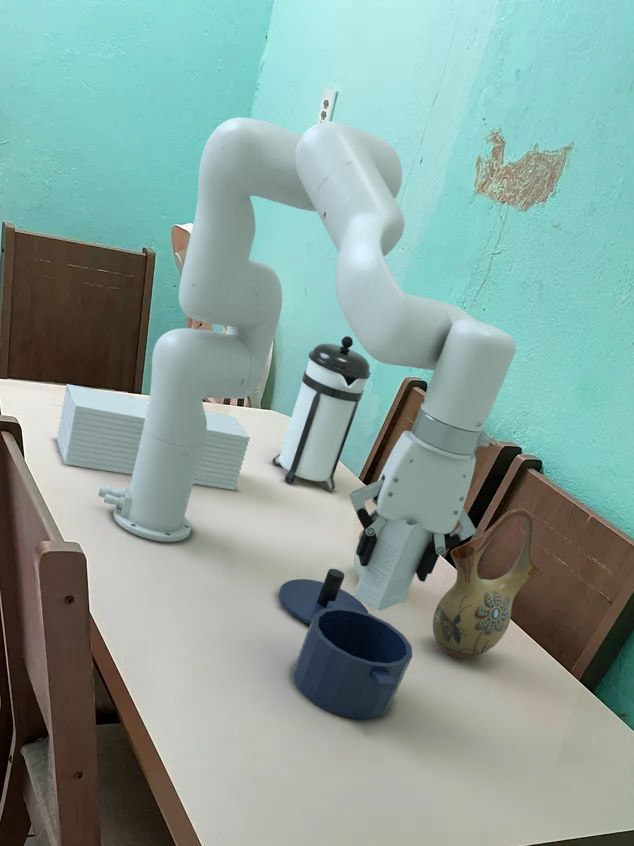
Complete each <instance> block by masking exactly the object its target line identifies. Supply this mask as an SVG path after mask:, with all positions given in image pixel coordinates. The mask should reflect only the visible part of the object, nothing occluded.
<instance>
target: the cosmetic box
mask: <svg viewBox="0 0 634 846" xmlns="http://www.w3.org/2000/svg"><path fill="white" fill-rule="evenodd" d="M432 534H433V532H429V531H426V530H424V529H423V525H422V524H419V523H416V522H412V521H408V520H405V519H401V518H398V519H397V520H396V521H389V520H388V522H387V523H386V524H385V525H384V526H383V527H382V528H381V529H380V531H379V533H378V536H377V542H376V545H375V547H374V550H373V553H372V555H371V558H370V560H369V563H368V565H367V566H365V568H364V570H363V573H362V575H361V578H360V580H359V579H358V583H357V585H356V588H355V590H354V593H353V596H354V597H355V598H356V599H358V600H359V601H360V602H361V603H363V604H365V605H367V606H368V607H370V608H372V609H373V610H375V611H377V612H380V611H382V610H386V609H387V608H390V607H393V606H396V605H399V604H401V603H403V602H404V601H405V598H406V596H407V594H408V591H409V589H410V587H411V585H412V582H413V580H414V578H415V575H416V571H417V569H418V566H419V564H420V561H421V559H422V557H423V555H424V552H425V550H426V548H427V545H428V543H430V541H431V536H432Z"/></svg>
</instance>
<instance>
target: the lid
mask: <svg viewBox="0 0 634 846" xmlns="http://www.w3.org/2000/svg"><path fill="white" fill-rule="evenodd" d="M345 577H346V576H345V573H344V572H343V571H342V570H339V569H336V568H329V569H328V570H327V573H326V575H325V579H324V581H319V580H314V579H307V578H299V579H291V580H287V581H286V582H284V583H283V584H282V585H281V586H280V588H279V590H278V598H279V601H280V603H281V604H282V606H283V607H284V608H285V609H286V611H288V612H289V613H290V614H292V616H294V617H295V618H297V619H299V620H300V621H302V622H304V623H306V624H308V625H310V624H311V621H312V618H313V616H314V615H315V614H316V613H317V612H319V611H320V610H321V609H326V608H327V604H328V602H329V601H334V602H342V603H344V604H345V605H346V607H347V608H349V609H355V610H358V611H362V612H365V613H368V614H370V613H369V611H368V609H367V607H366V606H365V605H364V603H363V602H362V601H361V600H359V599H358V598H357V597H355V596H354V595H352V594H351V593H349V592H347V591H346V590H344V589H342V588H341V587H342V584H343V582H344V578H345Z"/></svg>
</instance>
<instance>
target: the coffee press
mask: <svg viewBox="0 0 634 846" xmlns="http://www.w3.org/2000/svg"><path fill="white" fill-rule="evenodd" d="M353 345H354V341H353V338H352V337H351V336H348V335H347V336H344V337H343V338H342V339H341V345H339V344H335V343H327V342H325V343H320V344H318V345H316V346H315V347H314V348H313V349H312V350H311V351H309V353H308V363H307V366H306V369H305V370H304V372H303V374H302V378H301V380H302V382H301V386H300V389H299V392H298V395H297V398H296V401H295V404H294V408H293V411H292V414H291V416H290V417H291V418H290V420H289V424H288V427H287V430H286V433H285V437H284V440H283V443H282V446H281V449H280V452H279V454H278V455H277V456H275V457H273V458H272V464H273V465H274V466H279V465H280V466H281V467H282V468H283V469H284V470H286V471H287V472H288V473H287V474H286V476H285V477H284V482H286V483H288V484H289V485H292V484H293V483H294V482H295V480H296V479H297V478H301V479H304V480H308V481H312V482H321V483H322V484H323V485H324V487H325V489H326V491H328V492H331V491H334V490H335V489H336V484H335V480H334V479H335V478H334V476H335V473H336V470H337V466H338V464H339V461H340V458H341V455H342V452H343V449H344V447H345V445H346V441H347V438H348V435H349V432H350V429H351V427H352V423H353V421H354V418H355V415H356V412H357V409H358V406H359V402H360V401H361V400H362V397H363V395H364V392H365V390H364V388H365V385H366V383H367V380H368V379H370V378H371V375H372V373H371V370H370V369H371V368H370V363H369V361H368V359H367V358H366V357H365V356H364V355H362V354H361V353H359V352H357V351H355V350H353V349H351V347H352V346H353ZM277 459H278V461H279V463H278V462H277ZM328 480H330V484H331V488H330V486H329V483H328V482H327V481H328Z"/></svg>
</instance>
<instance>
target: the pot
mask: <svg viewBox="0 0 634 846" xmlns="http://www.w3.org/2000/svg"><path fill="white" fill-rule="evenodd" d="M368 613H369V612H368ZM368 613H365V612H362V611H358V610H355V609H349V608H347V607H346V605H345V604H344V603H342V602H334V601H329V602H328V604H327V608H326V609H321V610H320V611H319V612H317V613H316V614H315V615H314V616H313V618H312V621H311V624H309V627H308V629H307V632H306V634H305V637H304V641H303V643H302V645H301V648H300V651H299V654H298V656H297V659H296V661H295V665H294V669H293V675H292V677H293V681H294V683H295V685H296V687H297V689H298V691H300V693H301V694H302V695H303V696H304V697H305V698H306V699H307V700H309V701H310V702H311V703H313V704H314V705H315V706H317V707H319V708H321V709H323V710H325V711H326V712H329V713H332V714H334V715H336V716H339V717H342V718H346V719H347V718H348V719H352V720H372V719H377V718H379V717H381V716H383V715H384V714H385V713H386V712H387V711H388V709H389V708H390V706H392V702H393V701H394V698H395V697H396V694H397V691H398V690H399V688H400V686H401V682H402V680H403V678H404V676H405V674H406V671H407V670H408V668H409V665H410V663H411V660H412V658H413V649H412V645H411V644H410V642H409V640H408V639H407V638H406V636H405V635H404V634H403V633H402V632H401V631H400V630H398V629H397V628H396V627H394V626H393V625H392V624H390V623H389V622H387V621H385V620H383V619H381V618H379V617H378V616H375V615H373V614H371V613H369V614H368Z"/></svg>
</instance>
